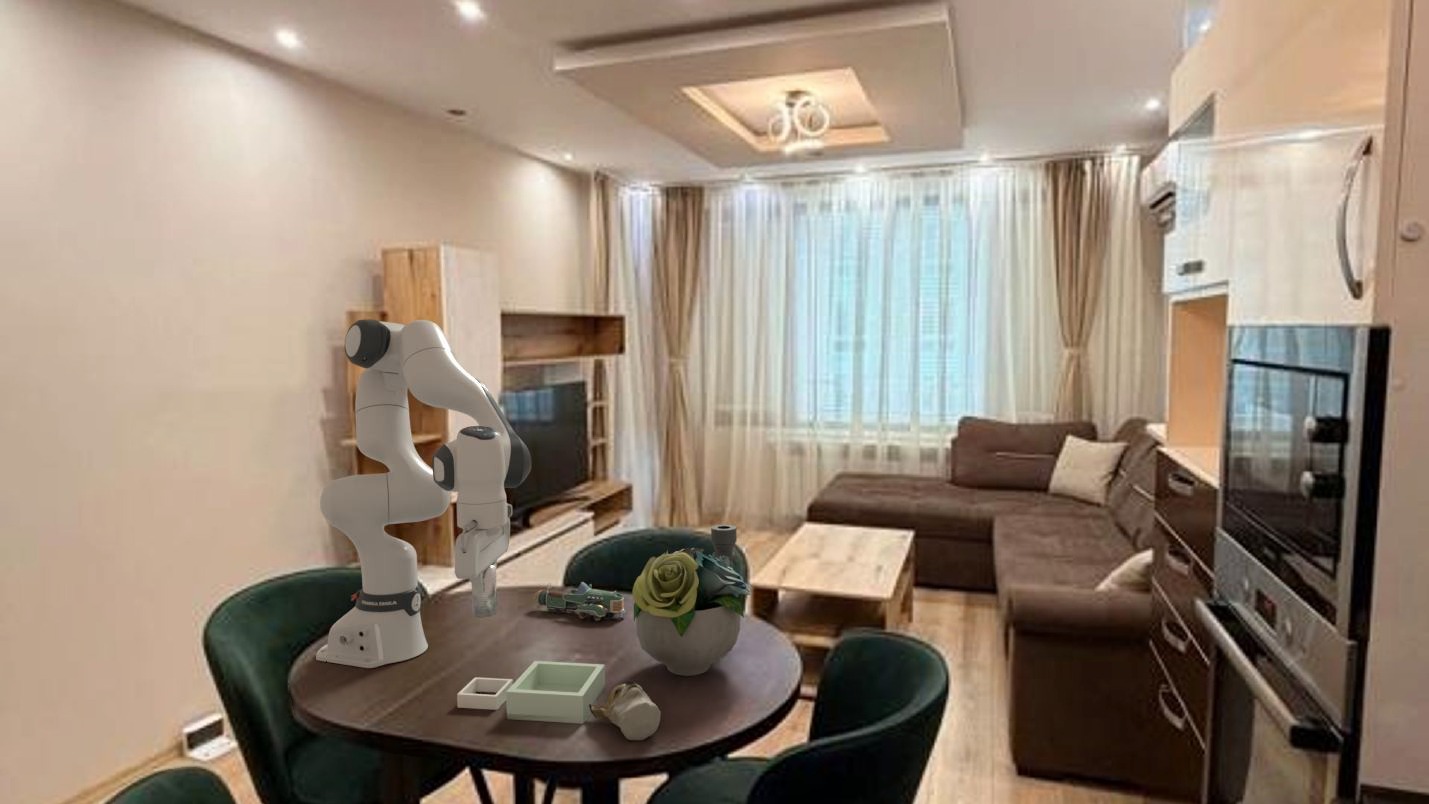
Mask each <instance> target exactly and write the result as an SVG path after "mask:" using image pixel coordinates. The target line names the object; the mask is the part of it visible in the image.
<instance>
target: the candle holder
mask: <svg viewBox="0 0 1429 804" xmlns="http://www.w3.org/2000/svg"><path fill="white" fill-rule="evenodd" d="M737 530H738V529H737V526H736V525H733V524H716V525H712V526H711V527H710V538H711V539H710V541H711V543H712V547H714V548H713V549H714V550H715V551H714V552H713V553H712V554H711V556H712V555H713V556H715V557H716V558H717V559H718V558H719V557H720V556H721V557H722V559H723V560H724V558H723V556H727V557H728V558H729V561H730V565H729V567H730V568H732V570H734V569H733V565H734V564H733V563H734V561H733V560H734V559H735V558H736V553H735V552H734V551H733V550H734V548H735V546H736V542H737V536H738V535H737V532H738V531H737ZM736 597H738V598H739V595H737V596H736Z"/></svg>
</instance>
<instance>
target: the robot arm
mask: <svg viewBox="0 0 1429 804" xmlns="http://www.w3.org/2000/svg"><path fill="white" fill-rule="evenodd" d="M344 353H345V355H346V357H347V359H348V361H349V362H350V363H351V364H353V365H355V366H358V367H359V368H363V369H364V370H363V371H361V373H360V374H359V377H358V380H357V385H356V390H355V404H354V406H355V407H354V408H355V414H354V415H355V432H356V433H355V435H356V446H357V448H358V450H359V451H360V452H361V453H362V454H363V455H364V456H365V457H367V458H369V459H371V460H374V461H377V462H380V463H382V464H383V465H385V467H387V469H388V470H389V471H388V472H384V473H383V472H382V473H381V472H380V473H367V474H366V473H365V474H353V475H349V476H344V477H340V478H337V479H333V480H330V481H329V482H328V483H327V484H326V485H325V487H324V488H323V490H322V493H321V495H320V500H319V507H320V512H321V515H322V516H323V517H324V519H325V520H326V521H327V522H328V523H329V524H330V525H331V526H333V527H334V528H336V529H338V530H340V532H342V533H344V535H345V536H346V537H348V539H349V540H350V541H351V543H352V544H353V546H355V549H356V551H357V554H358V557H359V562H360V569H361V578H362V579H361V582H362V588H361V589H358V590H357V591H356V593H354V594H353V595H352V594H351V596H350V598H351V601H352V602H353V601H354V600H356V603H355V605H354V607H353V608H352V609H350V610H349V611H347V613H345V614H344V615H343V616H342V617H341V618H339V619H338V620H337V621H336V622H335V623H333V625H332V626H331V627H330V629H329V633H328V637H327V644H325V645H323V646H322V647H321V648H320V649H318V650H317V652H316V655H315V660H316V661H320V662H326V661H327V663H334V664H339V665H344V666H345V665H346V666H353V667H357V668H358V667H359V668H364V669H374V668H378V667H380V666H381V667H382V666H384V665H388V664H393V663H398V662H403V661H407V660H410V659H413V658H415V657H417V656H420V655H422V654H423V653H424V652H426V650H427V649H428V647H429V643H428V642H427V639H426V636H425V633H424V628H423V625H422V624H423V623H422V619H421V604H422V603H421V601H422V600H421V585H420V583H419V581H418V580H419V579H418V555H417V551H416V549H415V547H414V546H413V545H412V544H411V543H409V542H407V541H405V540H403V539H400V538H397V537H394V536H393V535H391V534H388V533H387V532H386V531H385V527H386V526H388V525H395V524H404V523H405V524H406V523H417V522H418V523H419V522H422V521H427V520H432V519H435V518H438V517H441V516H442V515H443V514H444V513H445V512H446V511H447V509H448V507H449V506H450V502H451V498H452V496H451V493H452V492H453V493H457V496H456V519H457V520H456V522H457V523H456V524H457V525H456V526H457V527H458V528H460V529H462V532H461V533H459V534H458V536H457V537H456V540H455V547H454V548H455V550H454V574H455V577H456V578H457V579H459V580H469V581H470V583H471V587H472V586H473V594H474V595H482V594H483V593H484V591H485V583H483V578H482V576H483V571H484V570H486V569H487V568H488V567H489V566H490V565H491V564H493V563H494V564H496V568H497V567H498V560H499V559H500V558H501V557H502V556H503V555H504V554H506V553H507V552H508V550H509V548H510V541H511V540H510V539H511V519H510V518H511V517H512V515H513V505H512V504H511V503H508V502H507V494H506V491H505V489H509V488H510V489H512V488H514V489H515V488H518V487H519V486H520V485H522V484H523V482H524V481H525V480H526V479H527V477H528V476H529V474H530V473H531V471H532V463H533V462H532V457H531V453H530V450H529V449H528V447H527V445H526V444H525V442H524V441H523V440H522V438H520V437H519V435H517V434H516V432H515V430H514V429H513V428H512V425H510V423H509V421H508V420H507V418H506V416H505V414H504V413H503V412H502V410H501V408H500V406H499V405H498V403H497V401H496V400H495V398H494V397H493V395H492V394H491V392H490V390H489V389H488V388H487V387H486V385H485V384H484V383H483V381H481V380H479V379H477V378H475V377H474V376H472V375H471V374H470V373H469V372H468V371H467V370H465V368H464V367H463V366H462V365H461V363H460V362H459V361H458V359H457V356H456V354H455V351H454V348H453V347H452V345H451V342H450V341H449V339H448V337H447V336H446V334H445V332H444V331H443V329H442V328H441V327H440V326H439V325H438V324H437V323H436V322H433V321H431V320H428V319H417V320H416V319H415V320H413V321H410V322H409V323H407V324H405V323H397V322H391V321H379V320H377V319H375V318H374V319H373V318H369V319H368V318H367V319H358V320H356V321H355V322H354V323H353V324H351V325H350V327H349V328H348V330H347V332H346V335H345V339H344ZM408 390H409V392H410V393H411V395H412V396H413V397H414V398H415V399H417V401H419V402H420V403H422V404H425V405H427V406H431V407H433V408H440V409H444V410H445V409H446V410H450V411H454V412H458V413H461V414H464V415H467V416H469V417H470V418H472V419H473V420H475V421H476V423H477V424H478V425H473V426H472V425H471V426H470V425H469V426H467V427H463V428H461V429H459V431H458V432H457V435H456V438H455V439H454V440H452V441H450V442H447V443H443V444H442V445H440V446H439V447H438V449H436V452H435V453H434V454H433V456H432V467H431V466H429V465H428V464H427V463H426V462H425V461H424V460H423V459H422V457H420V455H419V453H418V451H417V450H416V447H415V445H414V441H413V436H412V428H411V419H410V408H409V407H410V406H409V398H408V397H409V396H408Z"/></svg>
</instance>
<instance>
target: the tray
mask: <svg viewBox="0 0 1429 804" xmlns="http://www.w3.org/2000/svg"><path fill="white" fill-rule="evenodd" d="M605 691H606V665H605V664H602V663H586V662H585V663H580V662H563V661H562V662H561V661H560V662H559V661H545V660H543V661H542V660H541V661H540V660H534V661H533V662H532V663H531V665H529V667H528V668H526V669H525V671H524V672H523V673H522V674H521V675H520V676H519V677H518V678H517V679H516V681H515V682H513V685H512V686H511V687H510V688H509V689H508V690H507V691H506V701H505V702H506V719H507V720H517V721H519V720H520V721H532V722H535V721H536V722H537V721H538V722H549V723H550V722H551V723H564V724H565V723H566V724H567V723H568V724H581V725H582V724H584V723H585V722H586V720H587V719H588V717H590V715H591V714H592V713H591V711H590V707H589V704H592V705H597V703H598V702H599V700H600V699H601V697H602V696H603V694H604V692H605Z"/></svg>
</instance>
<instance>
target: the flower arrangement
mask: <svg viewBox="0 0 1429 804" xmlns="http://www.w3.org/2000/svg"><path fill="white" fill-rule="evenodd" d="M705 550H706V549H705V548H700V547H699V548H698V547H697V548H696V547H692V548H682V549H680V550H679V551H677V550H676V551H674V552H671V553H670V554H669V553H668V552H669V551H668V550H667V551H666V552H663V553H661V555H659V556H658V557H655V556H651V557H650V558H649V560H648V561H647V562H646V564H645V566H644V568H643V570H642V572H641V574H640V575H639V576H638V577H636V580H635V582H634V583H633V587H632V598H633V600H634V603H633V622H635V623H636V632H637V633H636V634H637V637H638V641H639V644H640V646H641V649H642V650H643V651H644V652H645V653H646V654H648V655H649V656H650V657H651V658H653V659H654V660H656V661H657V662H659V663H661V664H664V665H666V667H667V668H666V669H667V670H668V671H669V672H670V673H672V674H674V675H677V676H683V677H688V676H689V677H690V676H691V677H692V676H698V675H702V674H704V673H706V672H707V671H708V670H709V668H710V667H711V664H713V663H715V662H717V661H719V660H722V659H724V657H726V655H728V654H729V653H730V652H731V651H732V649H733V648H734V647H735V645H736V643H737V640H738V638H739V634H740V631H741V617H742V618H745V614H744V611H743V604H742V600H741V599H740V598H739V595H741V594H742V595H748V596H752V594H751V591H753V588H752V585H750V584H748V583H746V582H744V577H743V576H742V575H740V574H739V573H737V572H736V571H735V570H734V569H733V570H732V568H730V567H729V565H730V561H729V558H728V557H727V556H723V558H724V560H723V559H722V557H721V556H720V557H719V558H718V559H717V558H716V557H715V556H713V555H712V554H708V556H707V555H706V552H705ZM749 589H751V591H750V590H749ZM737 595H738V597H736V596H737ZM737 637H738V638H737Z"/></svg>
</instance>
